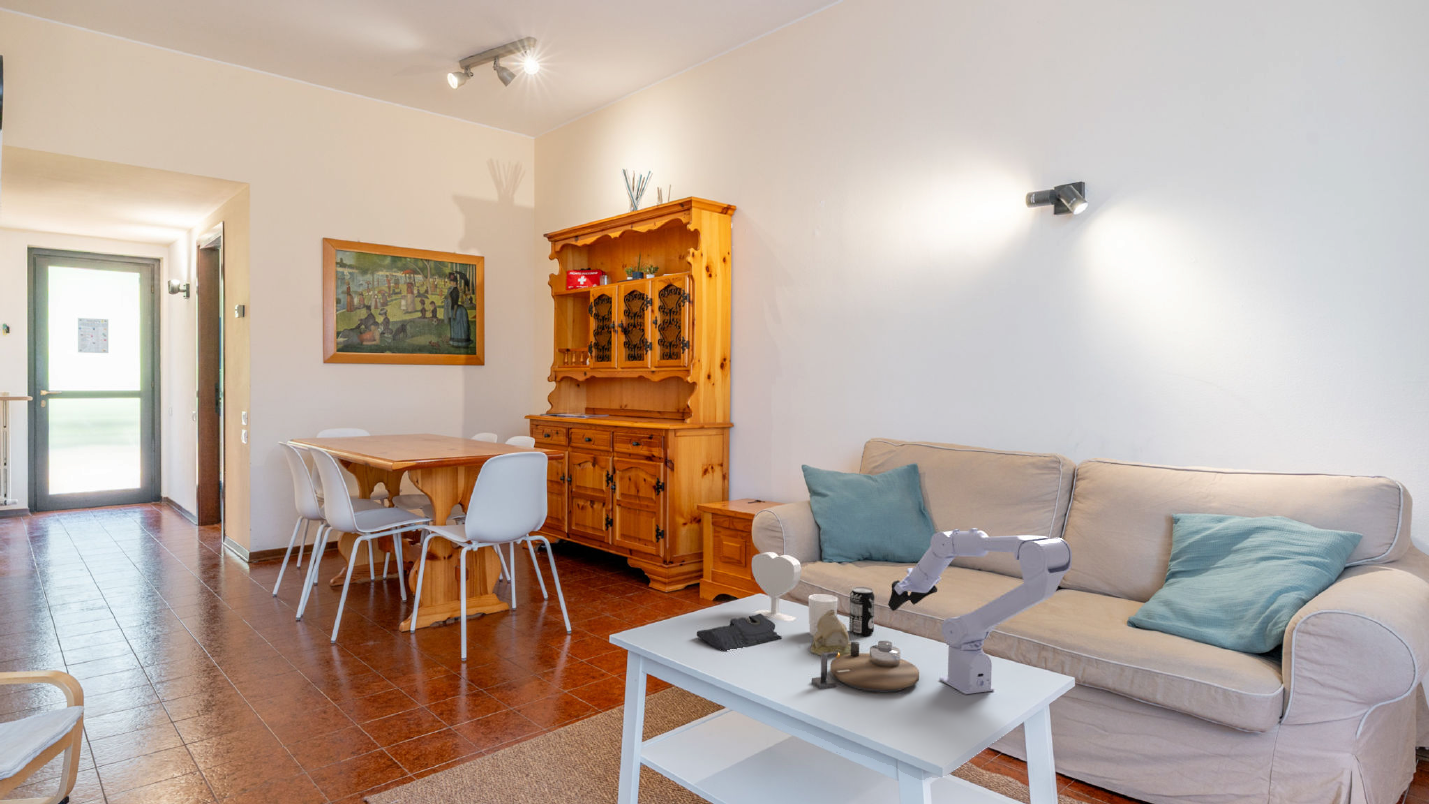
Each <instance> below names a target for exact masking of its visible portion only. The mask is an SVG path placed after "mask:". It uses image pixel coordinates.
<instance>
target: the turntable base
mask: <svg viewBox="0 0 1429 804" xmlns="http://www.w3.org/2000/svg"><path fill="white" fill-rule="evenodd" d="M841 682H842V683H844V684H845V685H847V686H849V687H852V688H855V689H859V690H862V691H866V692H867V691H868V692H875V693H877V692H878V693H891V692H898V691H901V690H904V689H906V688H901V689H890V690H882V689H870V688H863V687H859V686H855V685H851V684H848V683H845V682H843V681H841Z"/></svg>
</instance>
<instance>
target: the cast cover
mask: <svg viewBox="0 0 1429 804" xmlns="http://www.w3.org/2000/svg"><path fill="white" fill-rule="evenodd" d="M869 653H870V663H871V664H873V665H875V666H879V667H886V668H892V667H897V666H899V665H900V659H901V649H900V648H898V647H896V646H894V645H893V642H891V641H889V640H879V641H878V642H877V644H875V645H871V646H870V647H869Z"/></svg>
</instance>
